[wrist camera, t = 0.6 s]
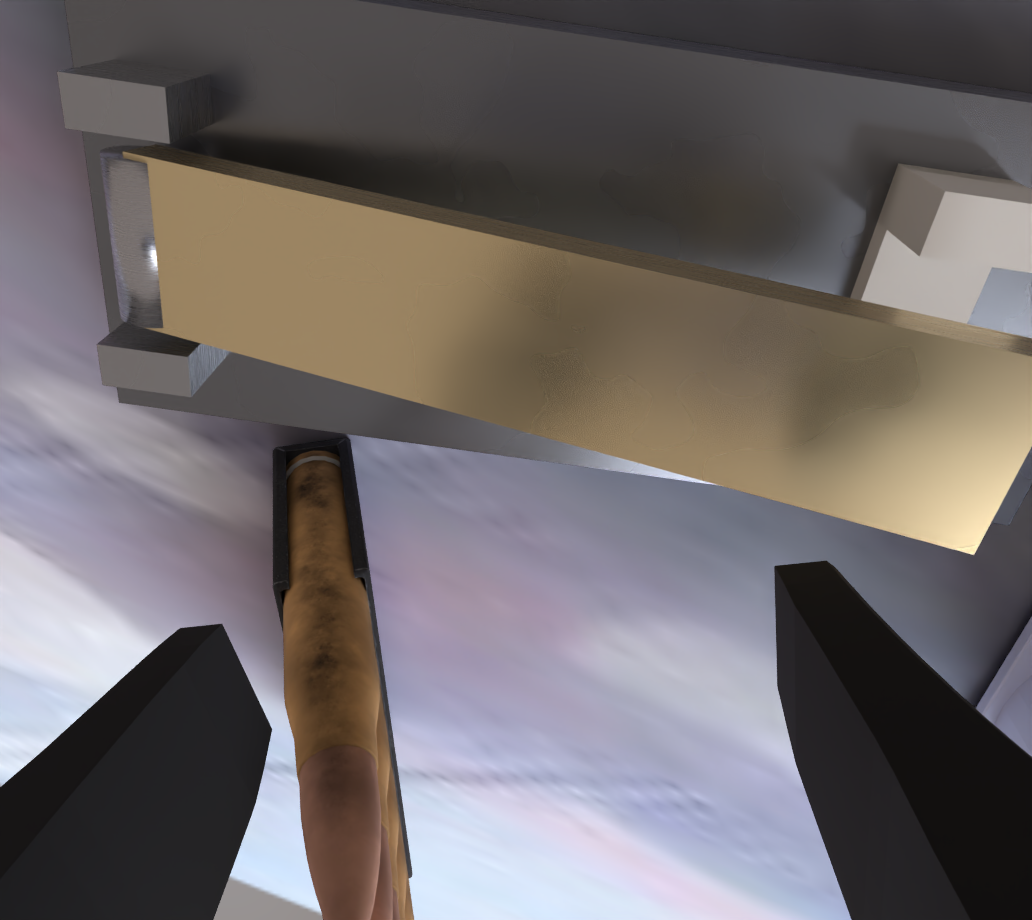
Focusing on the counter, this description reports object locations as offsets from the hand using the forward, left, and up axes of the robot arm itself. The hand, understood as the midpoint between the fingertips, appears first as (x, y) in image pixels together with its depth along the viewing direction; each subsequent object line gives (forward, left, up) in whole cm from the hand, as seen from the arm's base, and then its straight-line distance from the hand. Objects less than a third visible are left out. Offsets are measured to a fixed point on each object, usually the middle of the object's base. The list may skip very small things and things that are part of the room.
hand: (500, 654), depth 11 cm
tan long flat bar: (0, -3, -5) cm, 6 cm away
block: (-1, -3, -10) cm, 10 cm away
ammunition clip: (+4, +8, -10) cm, 13 cm away
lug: (-7, -3, -7) cm, 10 cm away
